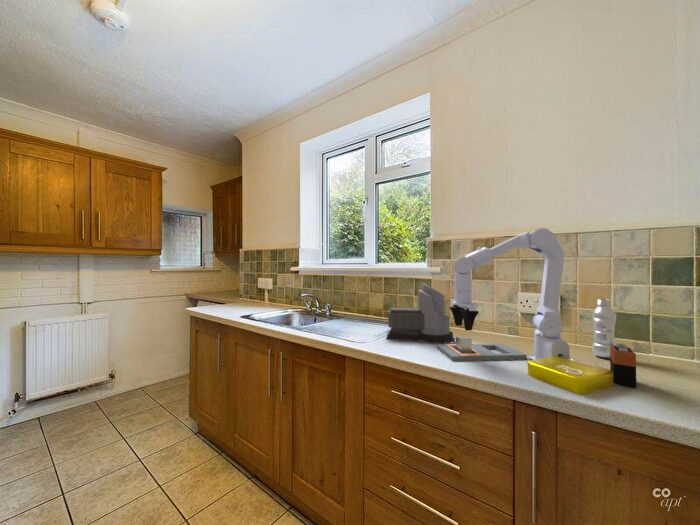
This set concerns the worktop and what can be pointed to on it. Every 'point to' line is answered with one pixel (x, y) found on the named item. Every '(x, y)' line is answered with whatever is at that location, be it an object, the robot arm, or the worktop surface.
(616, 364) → the battery
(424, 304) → the juicer
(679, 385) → the worktop surface
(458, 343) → the block
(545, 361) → the element tile
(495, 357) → the rail plate
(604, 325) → the plastic bottle
